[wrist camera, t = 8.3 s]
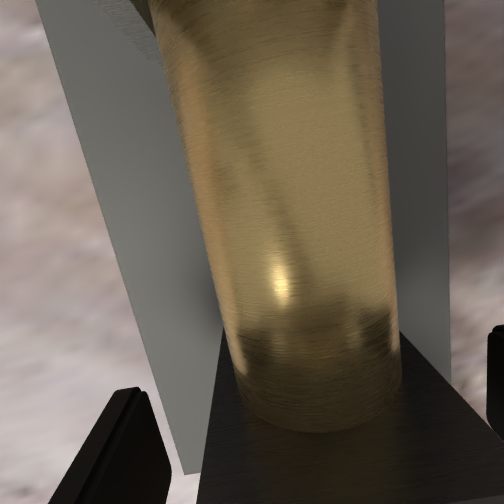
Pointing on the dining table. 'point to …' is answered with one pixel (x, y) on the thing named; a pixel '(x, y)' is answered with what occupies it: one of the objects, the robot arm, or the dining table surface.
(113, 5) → the sleeve
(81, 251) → the dining table surface
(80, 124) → the board
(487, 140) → the dining table surface
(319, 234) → the tube
